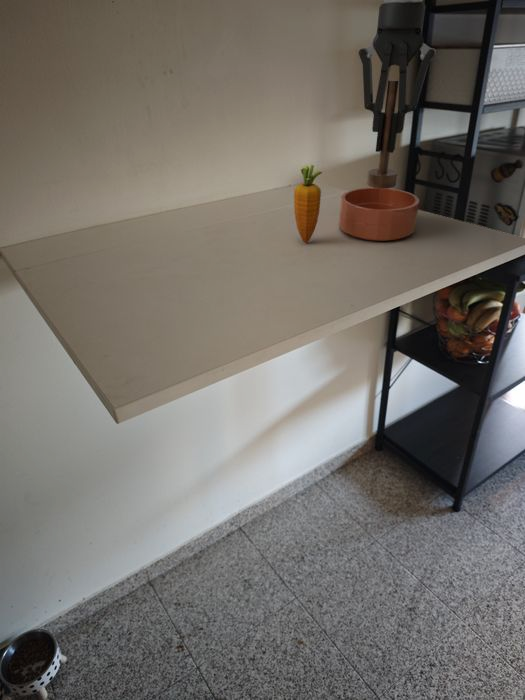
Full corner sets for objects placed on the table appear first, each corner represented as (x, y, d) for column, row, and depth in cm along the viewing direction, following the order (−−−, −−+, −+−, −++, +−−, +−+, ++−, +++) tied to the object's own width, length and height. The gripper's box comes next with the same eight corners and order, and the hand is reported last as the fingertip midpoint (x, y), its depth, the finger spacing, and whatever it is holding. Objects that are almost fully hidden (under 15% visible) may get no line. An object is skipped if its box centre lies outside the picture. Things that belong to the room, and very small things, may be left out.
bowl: (417, 220, 108) (422, 190, 105) (409, 246, 96) (415, 213, 93) (347, 214, 113) (349, 184, 109) (331, 237, 101) (333, 206, 97)
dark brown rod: (397, 181, 101) (411, 79, 91) (393, 189, 96) (407, 82, 86) (369, 179, 102) (380, 78, 92) (364, 187, 98) (375, 81, 88)
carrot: (306, 236, 101) (308, 159, 93) (323, 243, 98) (328, 164, 90) (287, 242, 99) (289, 164, 91) (305, 249, 96) (308, 169, 87)
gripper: (450, 0, 84) (426, 148, 97) (362, 2, 88) (350, 144, 101) (448, 0, 78) (423, 157, 91) (354, 2, 82) (342, 152, 95)
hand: (385, 150), depth 96 cm, fingers closed on dark brown rod, 2 cm apart
